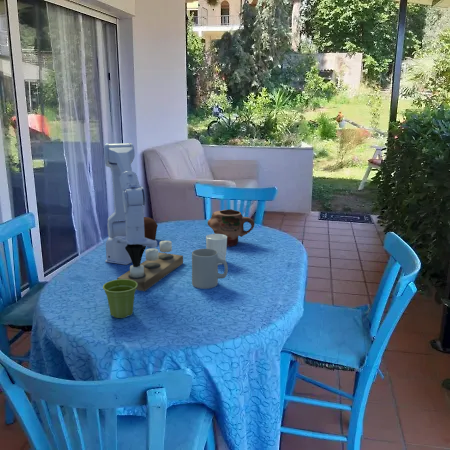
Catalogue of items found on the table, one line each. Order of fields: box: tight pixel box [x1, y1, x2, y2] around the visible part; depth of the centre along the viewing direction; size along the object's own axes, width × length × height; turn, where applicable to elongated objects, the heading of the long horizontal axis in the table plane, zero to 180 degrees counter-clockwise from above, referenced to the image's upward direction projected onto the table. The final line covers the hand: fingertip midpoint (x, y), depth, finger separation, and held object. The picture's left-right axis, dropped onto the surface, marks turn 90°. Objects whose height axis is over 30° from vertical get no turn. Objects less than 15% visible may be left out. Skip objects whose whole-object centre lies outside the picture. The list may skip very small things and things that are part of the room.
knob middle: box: [144, 247, 159, 261], centre depth 155 cm, size 4×4×3 cm
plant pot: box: [102, 279, 138, 319], centre depth 126 cm, size 9×9×9 cm
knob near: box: [129, 263, 144, 278], centre depth 146 cm, size 4×4×3 cm
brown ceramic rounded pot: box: [207, 208, 256, 247], centre depth 190 cm, size 20×12×14 cm, turn 85°
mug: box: [191, 248, 229, 290], centre depth 147 cm, size 12×8×11 cm
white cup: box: [205, 233, 228, 266], centre depth 168 cm, size 8×8×10 cm
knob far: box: [158, 240, 173, 253], centre depth 164 cm, size 4×4×3 cm
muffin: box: [144, 216, 159, 241], centre depth 194 cm, size 12×11×10 cm
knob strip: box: [116, 251, 184, 292], centre depth 156 cm, size 10×28×3 cm, turn 159°
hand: (136, 266), depth 146 cm, fingers closed, pressing on knob near
